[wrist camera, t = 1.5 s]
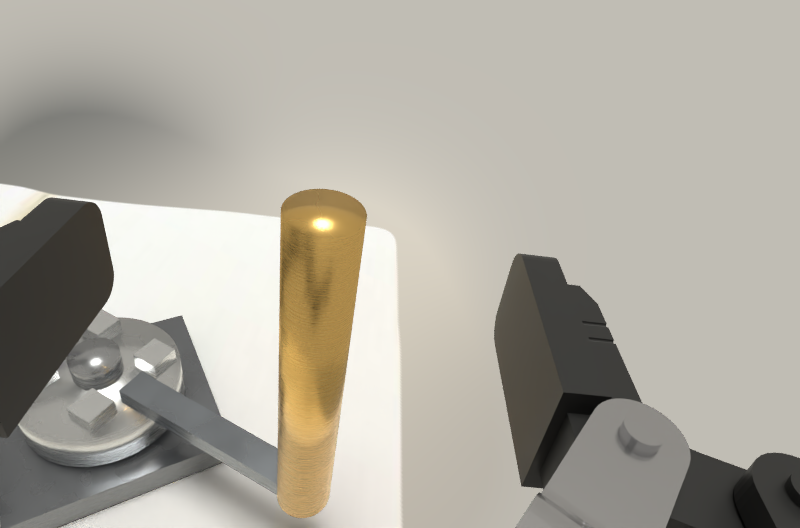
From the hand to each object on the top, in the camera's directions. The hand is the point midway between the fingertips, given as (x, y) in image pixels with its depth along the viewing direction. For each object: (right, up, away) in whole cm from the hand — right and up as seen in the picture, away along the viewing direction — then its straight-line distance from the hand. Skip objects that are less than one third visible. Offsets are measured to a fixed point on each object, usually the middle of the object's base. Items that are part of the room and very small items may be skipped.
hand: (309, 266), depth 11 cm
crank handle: (-13, -12, +25) cm, 31 cm away
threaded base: (-19, -11, +28) cm, 36 cm away
